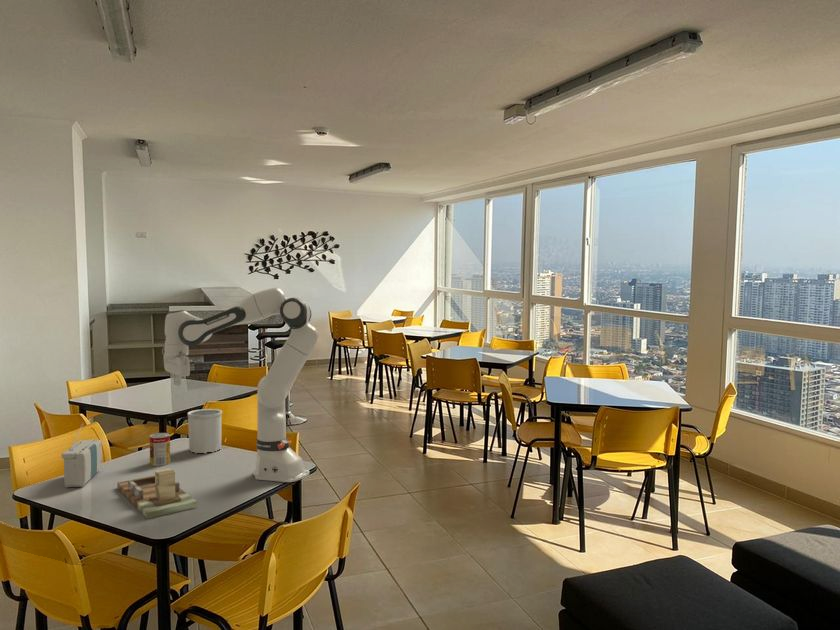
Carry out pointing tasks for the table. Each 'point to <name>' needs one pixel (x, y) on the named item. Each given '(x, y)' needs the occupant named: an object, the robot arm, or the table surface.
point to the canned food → (159, 449)
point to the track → (145, 488)
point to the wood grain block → (164, 487)
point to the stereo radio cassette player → (82, 462)
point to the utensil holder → (205, 430)
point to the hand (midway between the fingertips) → (177, 384)
